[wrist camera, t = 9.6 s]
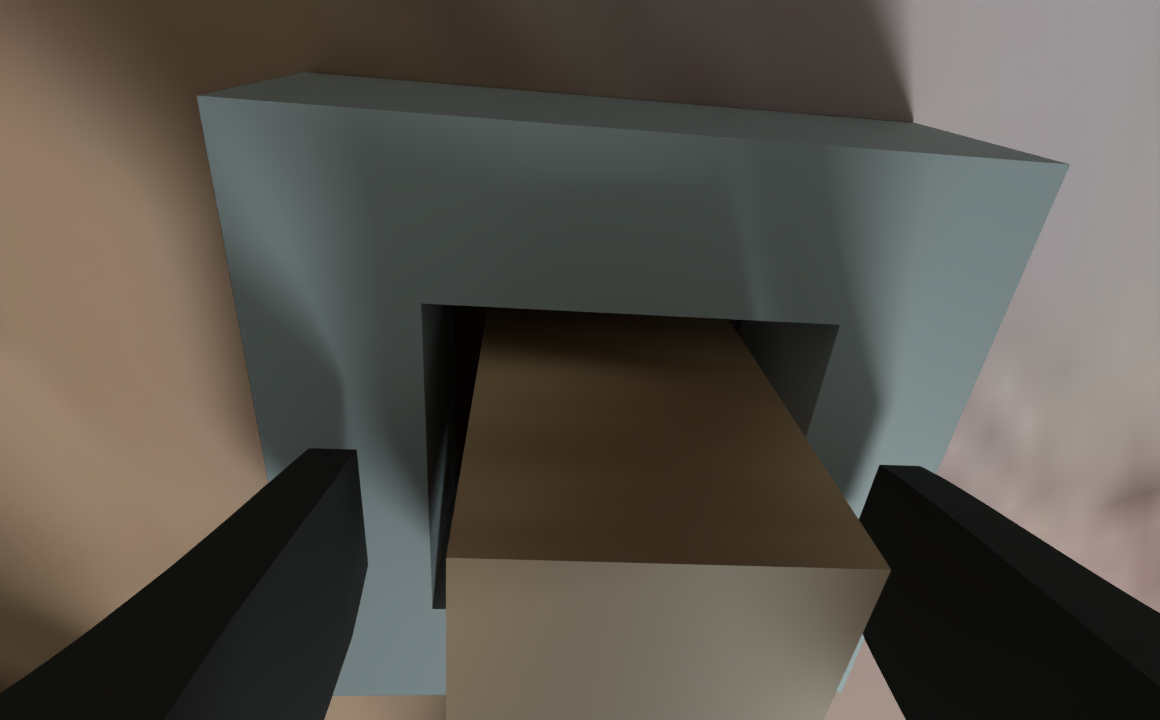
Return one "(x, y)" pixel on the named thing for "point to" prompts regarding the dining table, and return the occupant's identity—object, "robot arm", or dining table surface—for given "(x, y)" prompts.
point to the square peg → (644, 532)
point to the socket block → (592, 279)
